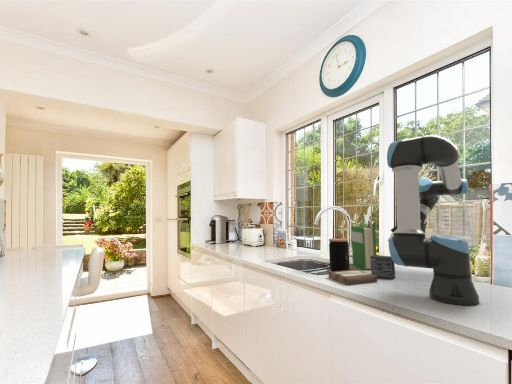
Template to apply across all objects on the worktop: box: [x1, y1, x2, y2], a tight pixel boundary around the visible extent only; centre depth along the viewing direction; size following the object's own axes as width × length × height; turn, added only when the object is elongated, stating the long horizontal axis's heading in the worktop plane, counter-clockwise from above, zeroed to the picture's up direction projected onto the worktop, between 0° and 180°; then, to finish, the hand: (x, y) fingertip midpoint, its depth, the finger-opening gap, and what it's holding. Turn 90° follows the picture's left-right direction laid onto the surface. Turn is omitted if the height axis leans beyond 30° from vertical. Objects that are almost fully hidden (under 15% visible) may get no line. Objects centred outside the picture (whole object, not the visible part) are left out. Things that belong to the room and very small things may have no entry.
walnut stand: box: [328, 268, 378, 286], centre depth 137 cm, size 16×16×3 cm
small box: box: [370, 255, 396, 280], centre depth 141 cm, size 11×6×10 cm, turn 58°
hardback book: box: [350, 225, 377, 272], centre depth 167 cm, size 18×7×24 cm, turn 1°
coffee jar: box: [328, 237, 351, 272], centre depth 157 cm, size 11×11×18 cm
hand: (398, 243), depth 146 cm, fingers open, 13 cm apart
